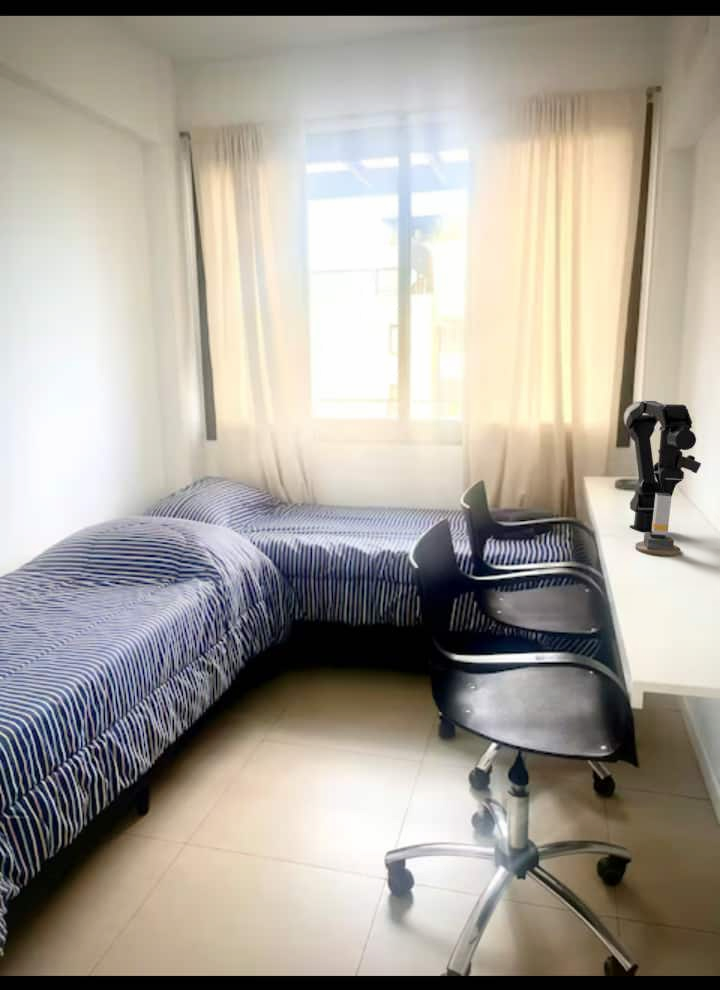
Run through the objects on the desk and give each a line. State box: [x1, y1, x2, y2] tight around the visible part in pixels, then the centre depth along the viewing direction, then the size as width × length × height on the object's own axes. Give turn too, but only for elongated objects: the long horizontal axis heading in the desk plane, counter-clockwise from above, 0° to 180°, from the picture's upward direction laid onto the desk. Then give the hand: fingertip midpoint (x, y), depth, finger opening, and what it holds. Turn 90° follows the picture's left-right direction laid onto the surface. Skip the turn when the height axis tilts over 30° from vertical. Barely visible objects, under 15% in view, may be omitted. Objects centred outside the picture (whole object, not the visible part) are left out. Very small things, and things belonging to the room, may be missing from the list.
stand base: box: [635, 532, 681, 557], centre depth 200 cm, size 12×12×4 cm
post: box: [651, 493, 673, 535], centre depth 198 cm, size 4×4×11 cm
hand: (665, 499), depth 206 cm, fingers open, 9 cm apart
